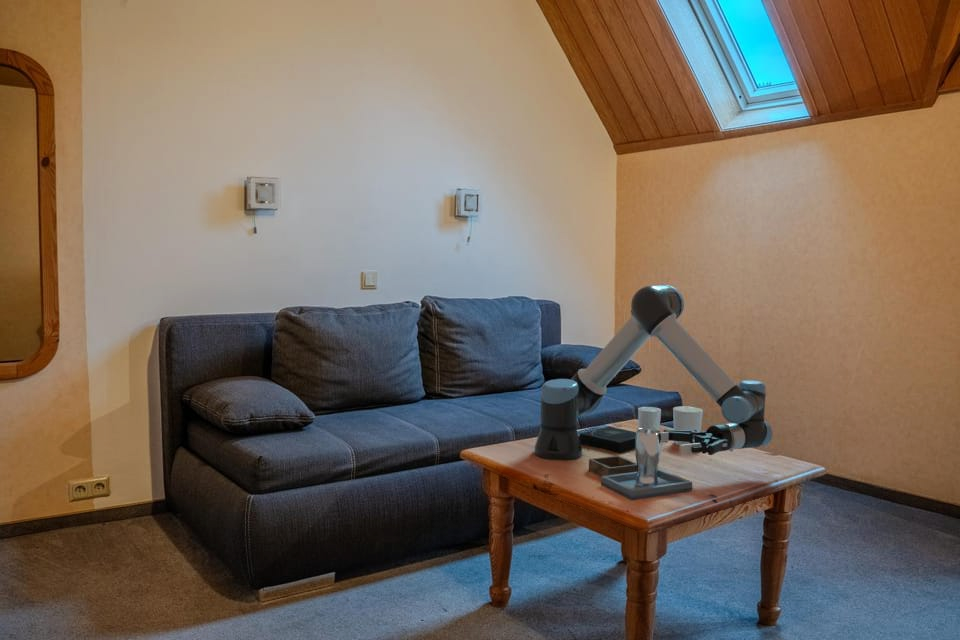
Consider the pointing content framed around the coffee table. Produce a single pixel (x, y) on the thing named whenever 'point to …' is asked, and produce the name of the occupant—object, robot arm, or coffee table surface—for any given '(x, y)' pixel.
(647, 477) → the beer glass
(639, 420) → the white cup
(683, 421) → the candle holder
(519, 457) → the coffee table surface
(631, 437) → the portable cd player
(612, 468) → the walnut holder
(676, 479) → the slate tray
